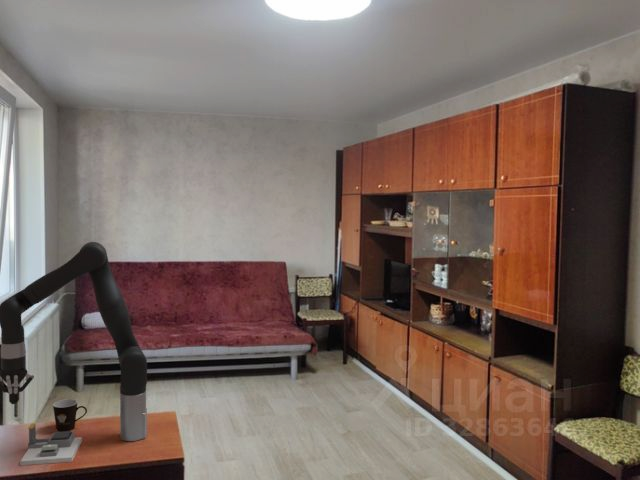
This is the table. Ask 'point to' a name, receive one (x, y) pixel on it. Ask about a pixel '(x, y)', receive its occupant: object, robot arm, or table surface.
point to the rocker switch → (49, 447)
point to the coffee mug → (66, 414)
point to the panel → (52, 451)
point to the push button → (61, 435)
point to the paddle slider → (32, 434)
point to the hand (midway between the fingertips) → (14, 403)
